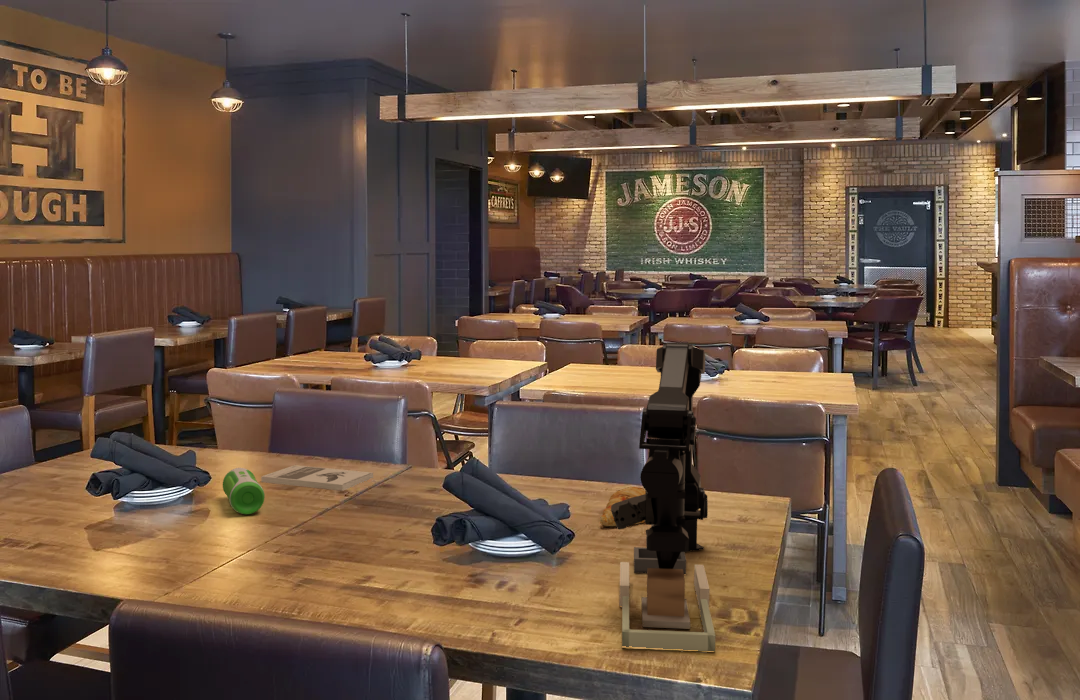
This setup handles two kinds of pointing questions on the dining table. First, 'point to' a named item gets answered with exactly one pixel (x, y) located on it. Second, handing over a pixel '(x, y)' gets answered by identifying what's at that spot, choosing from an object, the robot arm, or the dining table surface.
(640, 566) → the tray
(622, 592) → the channel
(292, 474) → the book
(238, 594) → the dining table surface
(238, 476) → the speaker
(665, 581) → the brown block on plate
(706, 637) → the bay
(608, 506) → the croissant
